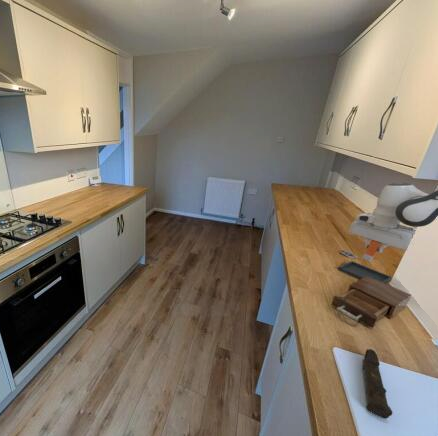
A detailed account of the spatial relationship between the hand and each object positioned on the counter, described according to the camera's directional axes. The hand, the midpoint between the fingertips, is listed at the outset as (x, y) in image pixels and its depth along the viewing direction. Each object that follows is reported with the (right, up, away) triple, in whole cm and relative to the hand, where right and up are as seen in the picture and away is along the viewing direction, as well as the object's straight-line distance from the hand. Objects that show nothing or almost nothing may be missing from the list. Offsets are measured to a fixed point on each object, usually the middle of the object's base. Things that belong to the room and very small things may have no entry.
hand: (373, 249), depth 104 cm
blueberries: (+8, -6, +22) cm, 25 cm away
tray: (0, -12, +5) cm, 13 cm away
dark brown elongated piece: (-42, -30, -42) cm, 66 cm away
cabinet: (-11, -19, -12) cm, 25 cm away
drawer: (-24, -20, -19) cm, 37 cm away
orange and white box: (0, -4, +1) cm, 4 cm away
